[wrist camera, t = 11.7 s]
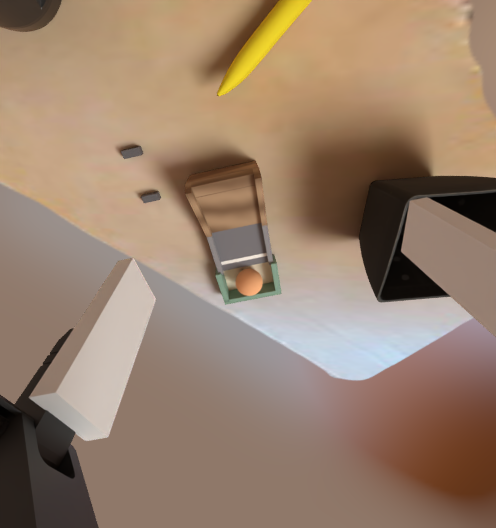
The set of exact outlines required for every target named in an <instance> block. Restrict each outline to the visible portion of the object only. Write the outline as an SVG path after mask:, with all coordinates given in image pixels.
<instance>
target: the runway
mask: <svg viewBox="0 0 496 528" xmlns="http://www.w3.org/2000/svg"><path fill="white" fill-rule="evenodd" d="M207 240H208V243H209V246H210V249H211V252H212V255H213V258H214V261H215V264H216V267H217V271H218V273H221V274H222V275H223V274H224V271H225V270H230V269H235V268H240V267H245V266H250V265H255V264H260V263H265V262H268V263H269V265H271V262H273V257H272V251H271V245H270V239H269V233H268V227H267V225H264V226H262V223H257V224H253V225H248V226H243V227H238V228H233V229H229V230H224V231H219V232H214V233H212V236H211V237H207Z"/></svg>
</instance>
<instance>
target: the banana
mask: <svg viewBox="0 0 496 528" xmlns="http://www.w3.org/2000/svg"><path fill="white" fill-rule="evenodd" d="M311 1H312V0H279V1H278V2H277V4H276V5H275V6H274V8H273V9H272V10H271V11H270V13H269V14H268V15H267V16H266V18H265V19H264V20H263V21H262V23H261V24H260V25H259V27H258V28H257V29H256V30H255V32H254V33H253V34H252V35H251V37H250V38H249V39H248V41H247V42H246V43H245V45H244V46H243V47H242V49H241V50H240V51H239V53H238V54H237V56H236V57H235V59H234V60H233V62H232V64H231V65H230V67H229V69H228V70H227V73H226V75H225V77H224V79H223V81H222V83H221V85H220V87H219V90H218V92H217V96H221V95H224V94H226V93H228V92H229V91H231V90H232V89H233V88H235V87H236V86H237V85H239V84H240V83H241V82H242V81H243V80H244V79H245V78H246V77H247V76H248V75H249V74H250V73H251V72H252V71H253V70H254V68H255V67H256V66H257V65H258V64H259V63H260V61H261V60H262V59H263V58H264V57H265V55H266V54H267V53H268V52H269V51H270V49H271V48H272V47H273V46H274V45H275V43H276V42H277V41H278V40H279V39H280V37H281V36H282V35H283V34H284V33H285V31H286V30H287V29H288V28H289V27H290V26H291V24H292V23H293V22H294V21H295V20H296V19H297V17H298V16H299V15H300V14H301V13H302V12H303V10H304V9H305V8H306V7H307V6H308V5H309V3H310V2H311Z"/></svg>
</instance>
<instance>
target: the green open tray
mask: <svg viewBox="0 0 496 528" xmlns="http://www.w3.org/2000/svg"><path fill="white" fill-rule="evenodd" d="M272 257H273V262H271V265H269V263H268V262H265V263H260V264H255V265H250V266H245V267H240V268H235V269H230V270H225V271H224V274H223V275H222V274H221V273H218V271H217V267H216V275H215V276H216V279H217V282H218V285H219V288H220V291H221V293H222V296H223V299H224V302H225V305H226V304H231V303H236V302H241V301H247V300H252V299H257V298H262V297H267V296H273V295H278V294H281V288H280V281H279V275H278V269H277V263H276V259H275V256H274V255H272ZM244 269H254V270H256V271H257V272H259V273H260V275H261V277H262V280H263V284H262V288H261V290H260V291H259V292H258V293H257V294H255V295H252V296H246V295H243V294H241V293H240V292H239V291H238V289H237V287H236V284H235V281H236V277H237V275H238V274H239V273H240V272H241V271H242V270H244Z"/></svg>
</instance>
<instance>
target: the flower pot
mask: <svg viewBox="0 0 496 528" xmlns="http://www.w3.org/2000/svg"><path fill="white" fill-rule="evenodd" d="M426 197H428V198H429V199H431V200H433V201H435V202H437V203H439V204H441V205H443V206H445V207H447V208H449V209H451V210H453V211H455V212H457V213H459V214H461V215H462V216H464V217H466V218H468V219H470V220H472V221H474V222H476V223H478V224H480V225H482V226H484V227H486V228H488V229H490V230H492V231H494V232H495V233H496V178H489V177H474V176H430V177H419V178H405V179H392V180H379V181H374V182H373V183H372V184H371V185H370V187H369V192H368V197H367V202H366V206H365V211H364V216H363V220H362V225H361V230H360V234H359V240H360V248H361V254H362V258H363V263H364V266H365V270H366V273H367V276H368V279H369V282H370V284H371V287H372V289H373V292H374V294H375V296H376V298H377V300H378V301H379V302H393V301H404V300H416V299H427V298H439V297H451V296H450V295H448V294H447V293H446V292H445V291H444V290H443V289H442V288H441V287H440V286H439V285H437V284H436V283H435V282H434V281H433V280H432V279H431V278H430V277H429V276H427V275H426V274H425V273H424V272H423V271H422V270H421V269H420V268H419V267H418V266H416V265H415V264H414V263H413V262H412V261H411V260H410V259H409V258H408V257H406V256H405V255H404V254H403V253H402V252H401V248H402V243H403V237H404V231H405V225H406V220H407V214H408V208H409V203H410V201H411V200H416V199H421V198H426Z"/></svg>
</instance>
